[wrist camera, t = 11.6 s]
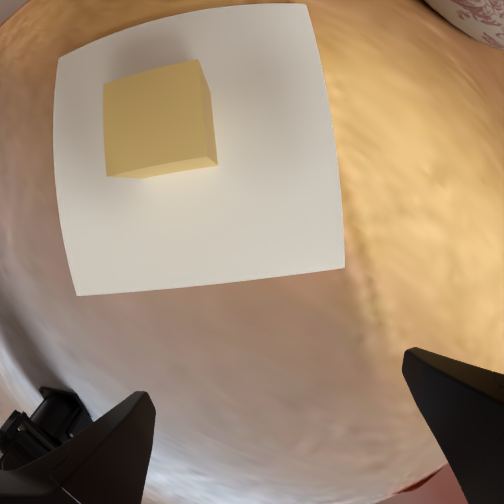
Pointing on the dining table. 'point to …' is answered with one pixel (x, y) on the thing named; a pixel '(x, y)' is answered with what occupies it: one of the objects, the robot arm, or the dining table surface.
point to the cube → (158, 122)
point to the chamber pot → (475, 18)
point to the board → (211, 178)
